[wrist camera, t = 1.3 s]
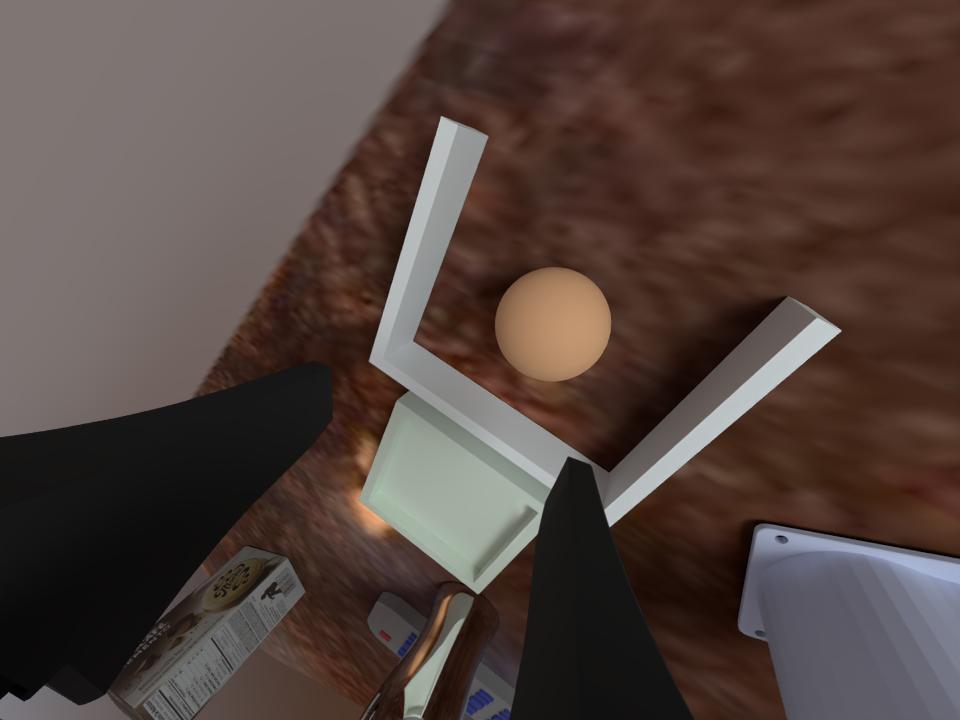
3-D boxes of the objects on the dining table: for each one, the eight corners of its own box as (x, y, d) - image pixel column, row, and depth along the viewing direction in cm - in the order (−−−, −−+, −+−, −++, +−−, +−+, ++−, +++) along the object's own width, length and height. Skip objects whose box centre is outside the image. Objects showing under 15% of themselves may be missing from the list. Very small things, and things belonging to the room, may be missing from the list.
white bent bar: (474, 128, 16) (441, 116, 14) (807, 306, 14) (841, 330, 11) (399, 343, 23) (368, 361, 21) (613, 488, 21) (607, 528, 18)
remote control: (541, 747, 37) (535, 776, 36) (373, 611, 41) (360, 630, 39) (580, 732, 33) (575, 764, 31) (388, 582, 37) (374, 602, 35)
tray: (411, 388, 24) (396, 400, 23) (562, 494, 22) (556, 514, 21) (372, 486, 31) (358, 500, 29) (486, 574, 29) (478, 594, 27)
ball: (616, 254, 16) (602, 274, 12) (616, 357, 18) (604, 406, 13) (511, 264, 18) (468, 283, 14) (520, 355, 20) (485, 397, 16)
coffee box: (266, 578, 50) (125, 716, 37) (246, 543, 48) (89, 675, 35) (308, 593, 46) (165, 755, 33) (288, 555, 44) (127, 712, 31)
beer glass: (422, 576, 33) (280, 805, 20) (482, 579, 29) (354, 861, 17) (455, 631, 34) (341, 878, 22) (517, 640, 31) (422, 945, 18)
